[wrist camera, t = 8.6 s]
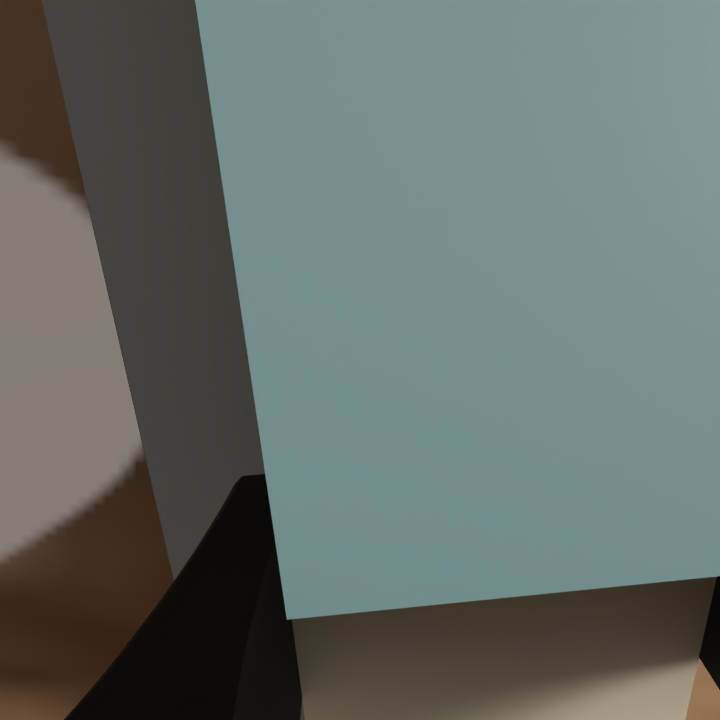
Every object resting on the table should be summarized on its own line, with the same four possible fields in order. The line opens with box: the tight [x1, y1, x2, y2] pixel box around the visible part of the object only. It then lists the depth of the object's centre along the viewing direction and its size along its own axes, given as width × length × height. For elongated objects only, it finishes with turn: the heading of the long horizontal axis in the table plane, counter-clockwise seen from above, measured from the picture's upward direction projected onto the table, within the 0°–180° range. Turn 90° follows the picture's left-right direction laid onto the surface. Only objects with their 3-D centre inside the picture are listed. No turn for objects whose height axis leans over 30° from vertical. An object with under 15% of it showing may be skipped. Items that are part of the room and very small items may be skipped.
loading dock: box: [41, 0, 305, 720], centre depth 12 cm, size 24×10×2 cm, turn 3°
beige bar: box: [292, 577, 717, 720], centre depth 9 cm, size 20×5×3 cm, turn 3°
